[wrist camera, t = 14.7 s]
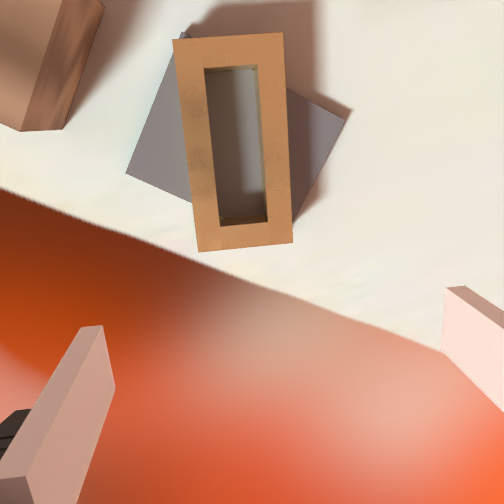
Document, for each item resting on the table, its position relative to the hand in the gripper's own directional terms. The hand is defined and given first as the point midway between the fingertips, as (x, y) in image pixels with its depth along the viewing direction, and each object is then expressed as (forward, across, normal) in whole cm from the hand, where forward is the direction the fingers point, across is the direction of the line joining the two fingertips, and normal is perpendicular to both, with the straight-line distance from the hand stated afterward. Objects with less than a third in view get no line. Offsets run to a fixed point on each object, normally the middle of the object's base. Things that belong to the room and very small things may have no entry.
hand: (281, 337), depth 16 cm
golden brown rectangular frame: (+22, 0, +6) cm, 23 cm away
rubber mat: (+23, 0, +6) cm, 24 cm away
